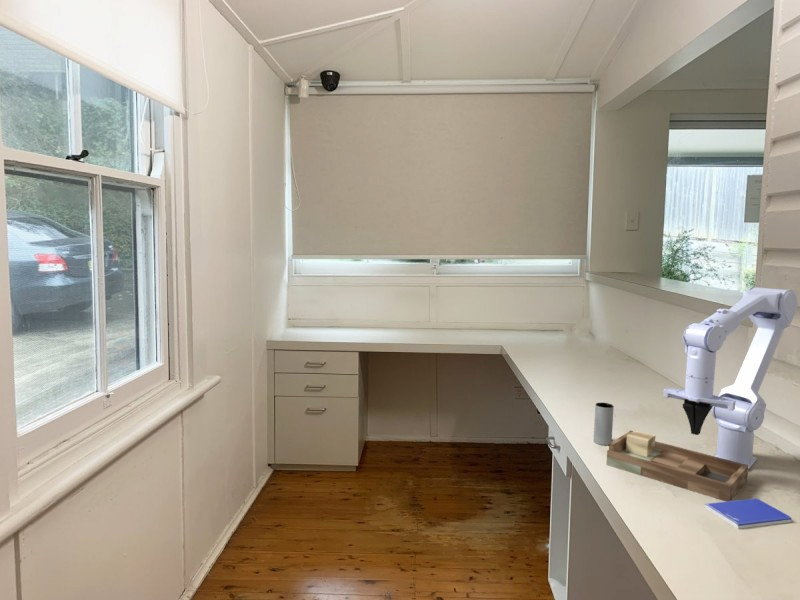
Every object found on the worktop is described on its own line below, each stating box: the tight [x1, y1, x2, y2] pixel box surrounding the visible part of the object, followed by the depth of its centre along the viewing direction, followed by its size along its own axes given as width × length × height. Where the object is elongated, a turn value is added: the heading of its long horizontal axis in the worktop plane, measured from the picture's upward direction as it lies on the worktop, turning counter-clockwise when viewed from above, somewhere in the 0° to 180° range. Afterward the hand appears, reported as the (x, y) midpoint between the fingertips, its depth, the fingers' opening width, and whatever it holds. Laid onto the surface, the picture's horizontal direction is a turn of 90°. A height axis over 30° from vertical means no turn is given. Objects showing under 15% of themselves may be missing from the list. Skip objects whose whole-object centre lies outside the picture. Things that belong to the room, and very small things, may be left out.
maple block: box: [626, 430, 656, 457], centre depth 133 cm, size 5×5×4 cm
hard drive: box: [704, 498, 793, 530], centre depth 106 cm, size 2×8×12 cm
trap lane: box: [605, 430, 749, 502], centre depth 125 cm, size 15×26×5 cm, turn 45°
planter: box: [593, 402, 615, 446], centre depth 143 cm, size 4×4×10 cm
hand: (695, 433), depth 125 cm, fingers closed
